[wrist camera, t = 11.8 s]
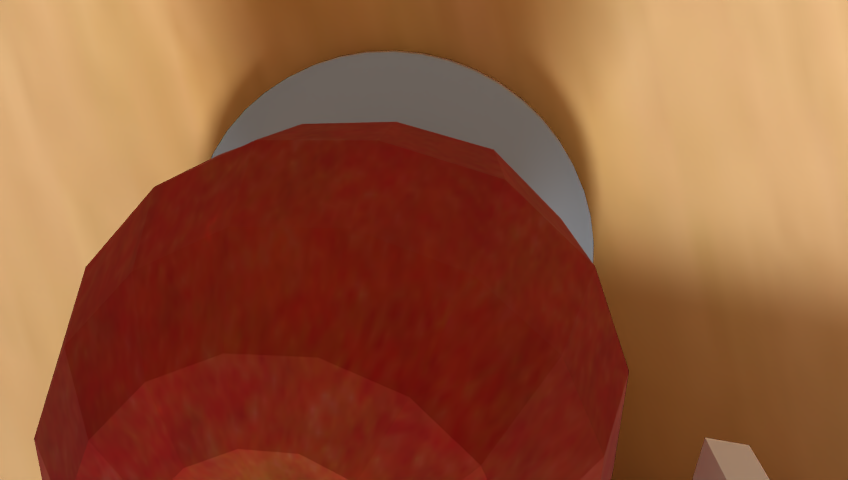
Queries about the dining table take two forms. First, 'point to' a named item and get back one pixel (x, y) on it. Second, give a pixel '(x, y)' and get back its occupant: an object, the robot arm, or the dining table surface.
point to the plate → (425, 117)
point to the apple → (338, 324)
